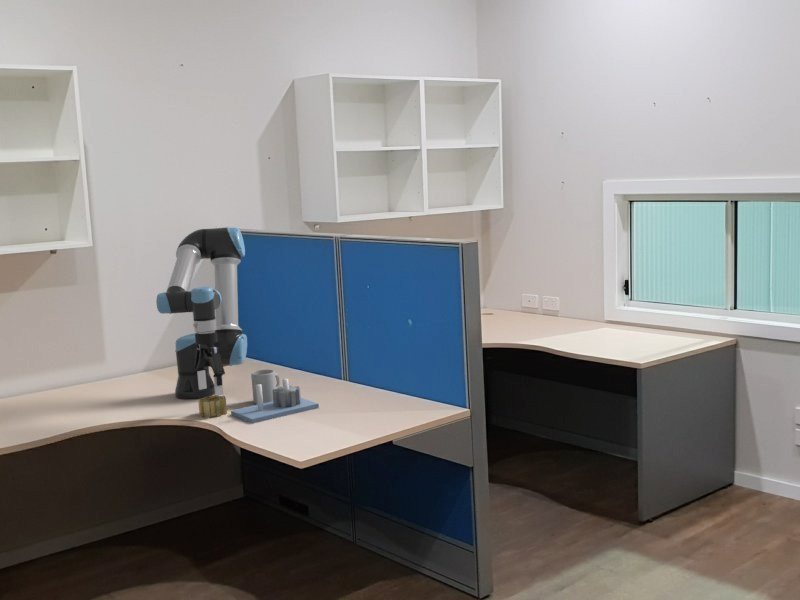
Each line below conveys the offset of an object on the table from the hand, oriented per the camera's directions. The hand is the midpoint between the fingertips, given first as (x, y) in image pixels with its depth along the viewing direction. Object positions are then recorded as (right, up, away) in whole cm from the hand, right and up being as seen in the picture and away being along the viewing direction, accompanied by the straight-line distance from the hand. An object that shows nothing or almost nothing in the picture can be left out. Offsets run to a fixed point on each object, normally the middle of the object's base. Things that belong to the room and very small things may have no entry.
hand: (210, 391), depth 325 cm
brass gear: (0, -8, +2) cm, 8 cm away
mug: (+18, -5, +17) cm, 25 cm away
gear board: (+22, -7, 0) cm, 23 cm away
